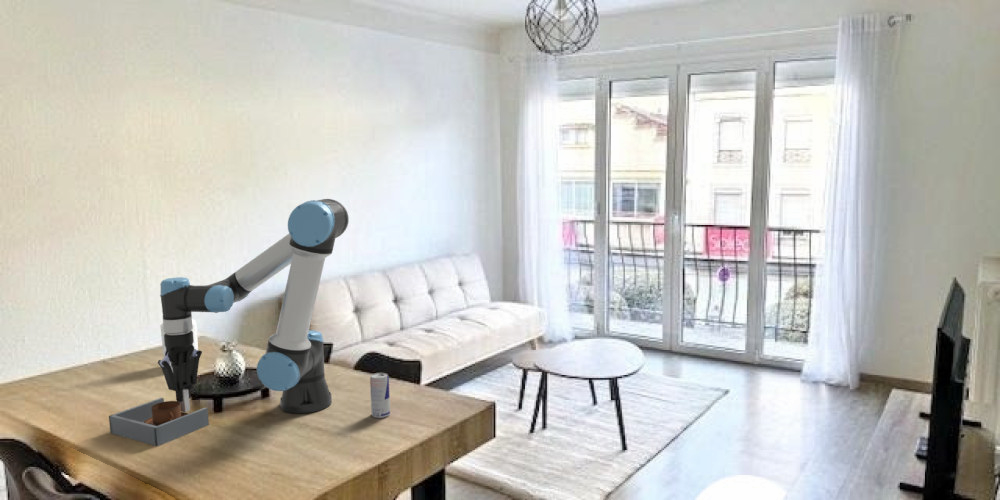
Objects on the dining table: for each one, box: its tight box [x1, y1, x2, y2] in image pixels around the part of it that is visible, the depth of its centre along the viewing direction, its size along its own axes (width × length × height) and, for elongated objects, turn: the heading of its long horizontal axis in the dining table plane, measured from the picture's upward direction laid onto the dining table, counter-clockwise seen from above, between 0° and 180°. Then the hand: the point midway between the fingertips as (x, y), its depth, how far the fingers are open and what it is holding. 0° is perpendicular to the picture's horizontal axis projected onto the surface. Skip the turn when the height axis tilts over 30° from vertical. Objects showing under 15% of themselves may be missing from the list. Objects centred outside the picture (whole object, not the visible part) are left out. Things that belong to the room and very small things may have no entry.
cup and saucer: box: [143, 400, 189, 426], centre depth 189 cm, size 12×12×6 cm
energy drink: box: [369, 372, 391, 419], centre depth 194 cm, size 5×5×12 cm
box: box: [108, 397, 210, 447], centre depth 187 cm, size 20×16×5 cm
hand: (184, 410), depth 194 cm, fingers closed
